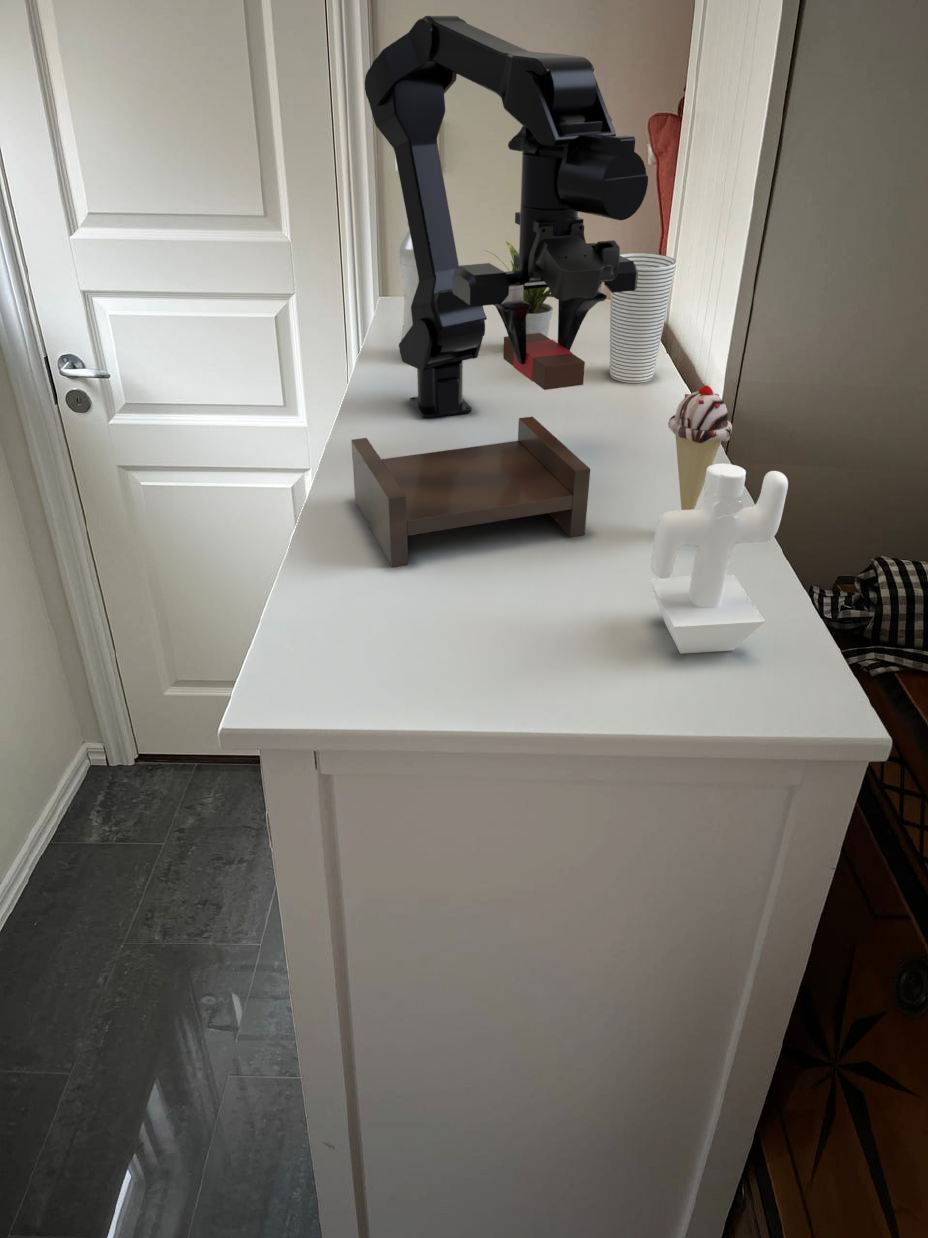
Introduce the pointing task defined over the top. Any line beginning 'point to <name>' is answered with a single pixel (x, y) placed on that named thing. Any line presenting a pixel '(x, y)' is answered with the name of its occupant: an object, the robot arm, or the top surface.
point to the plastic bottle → (408, 279)
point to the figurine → (713, 560)
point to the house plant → (534, 304)
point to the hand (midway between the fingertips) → (541, 360)
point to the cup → (640, 318)
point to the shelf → (469, 487)
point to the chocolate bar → (547, 362)
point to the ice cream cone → (698, 440)
